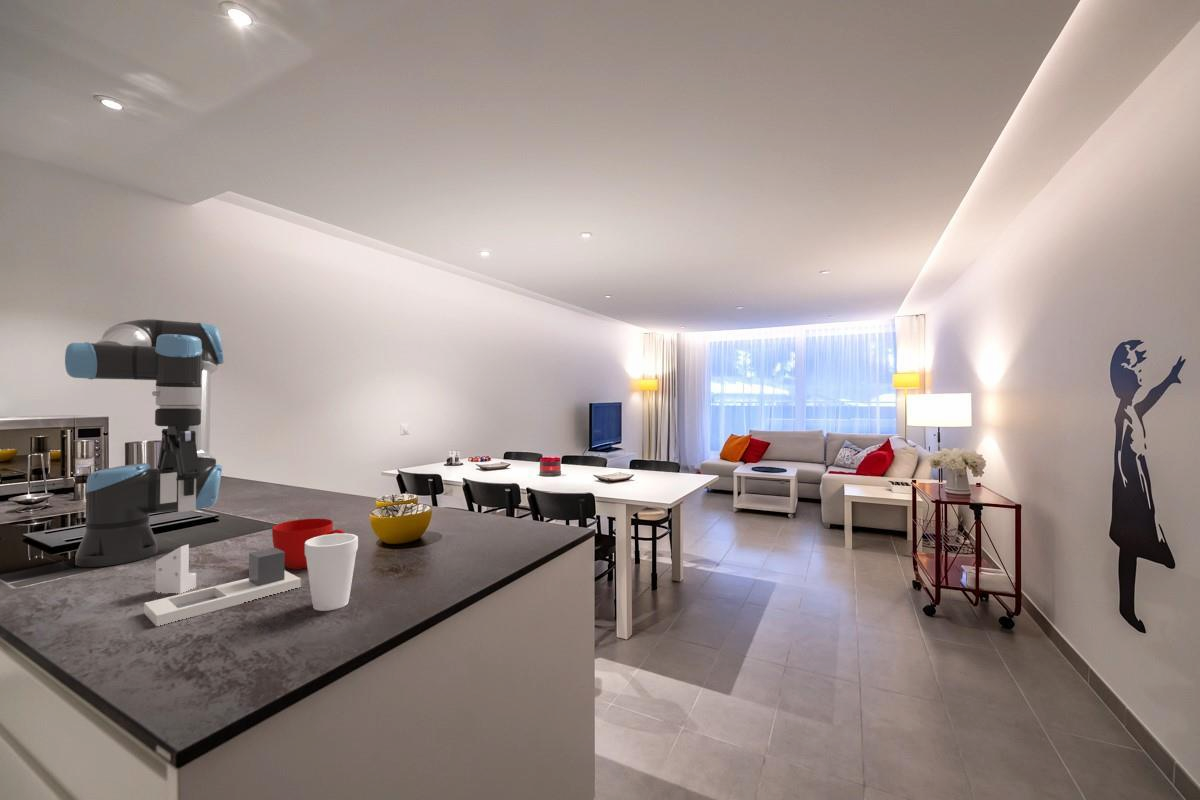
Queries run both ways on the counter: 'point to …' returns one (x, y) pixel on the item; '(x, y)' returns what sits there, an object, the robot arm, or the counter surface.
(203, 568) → the counter surface
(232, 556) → the counter surface
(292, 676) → the counter surface
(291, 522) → the ceramic cup
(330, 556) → the foam cup
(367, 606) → the counter surface
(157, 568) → the white angled block
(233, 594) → the white slotted base plate
